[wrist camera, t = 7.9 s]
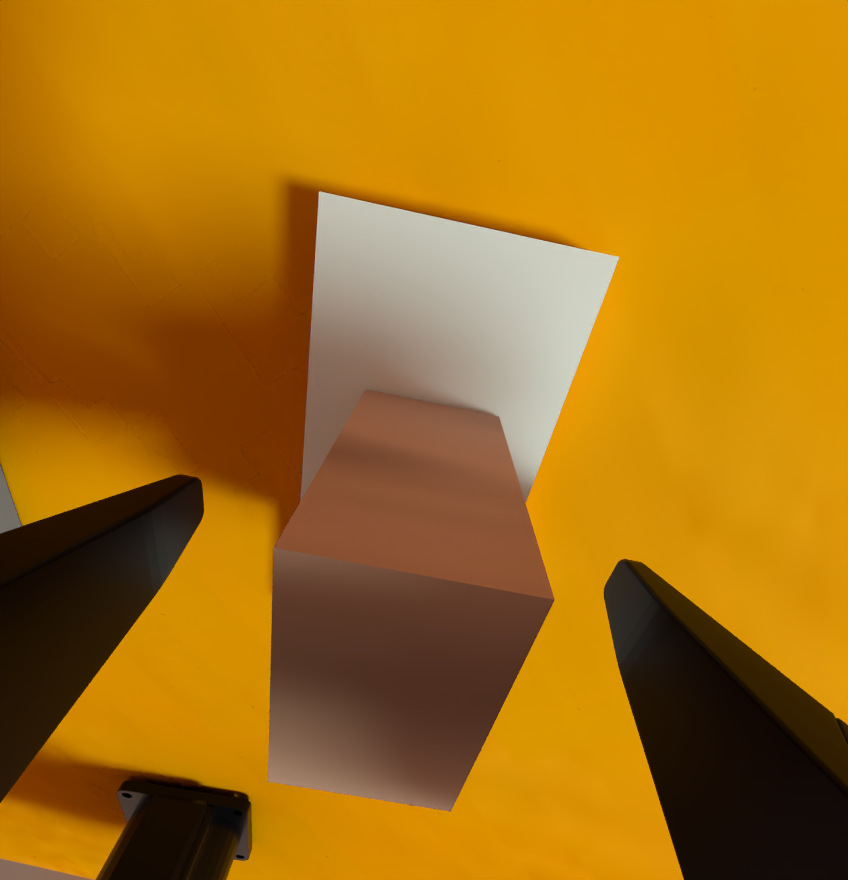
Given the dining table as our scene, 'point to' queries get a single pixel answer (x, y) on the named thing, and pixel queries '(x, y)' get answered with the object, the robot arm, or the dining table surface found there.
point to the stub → (418, 496)
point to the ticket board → (7, 507)
